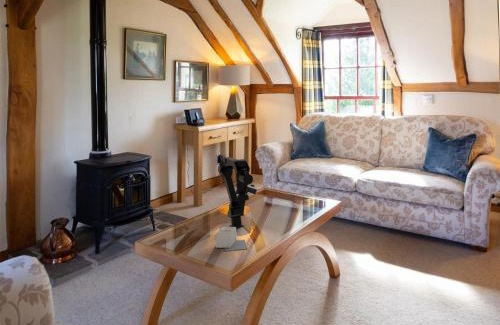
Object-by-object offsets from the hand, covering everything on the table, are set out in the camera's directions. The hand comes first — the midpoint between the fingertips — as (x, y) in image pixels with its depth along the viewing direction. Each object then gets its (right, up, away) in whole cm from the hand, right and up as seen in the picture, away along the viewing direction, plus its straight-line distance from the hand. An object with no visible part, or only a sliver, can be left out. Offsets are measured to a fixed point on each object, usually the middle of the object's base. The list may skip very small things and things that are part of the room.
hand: (243, 209), depth 224 cm
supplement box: (-7, -11, -12) cm, 18 cm away
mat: (-4, -16, -20) cm, 26 cm away
